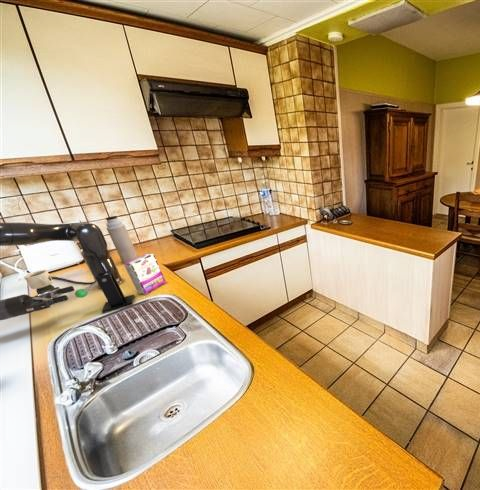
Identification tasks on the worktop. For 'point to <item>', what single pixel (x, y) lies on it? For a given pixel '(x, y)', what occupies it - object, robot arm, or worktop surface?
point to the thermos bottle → (121, 239)
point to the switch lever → (85, 290)
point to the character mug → (39, 280)
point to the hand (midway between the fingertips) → (70, 292)
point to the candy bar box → (145, 273)
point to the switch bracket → (112, 292)
